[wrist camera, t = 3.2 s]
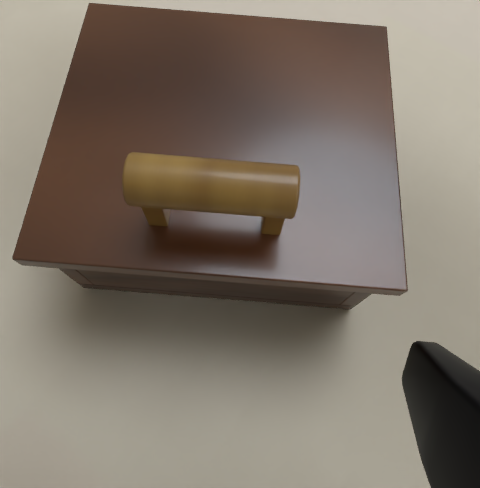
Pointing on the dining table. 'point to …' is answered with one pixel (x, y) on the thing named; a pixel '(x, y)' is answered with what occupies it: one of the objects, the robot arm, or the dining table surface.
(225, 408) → the dining table surface
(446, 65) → the dining table surface
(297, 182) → the tea lid
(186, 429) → the dining table surface
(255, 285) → the tea box
